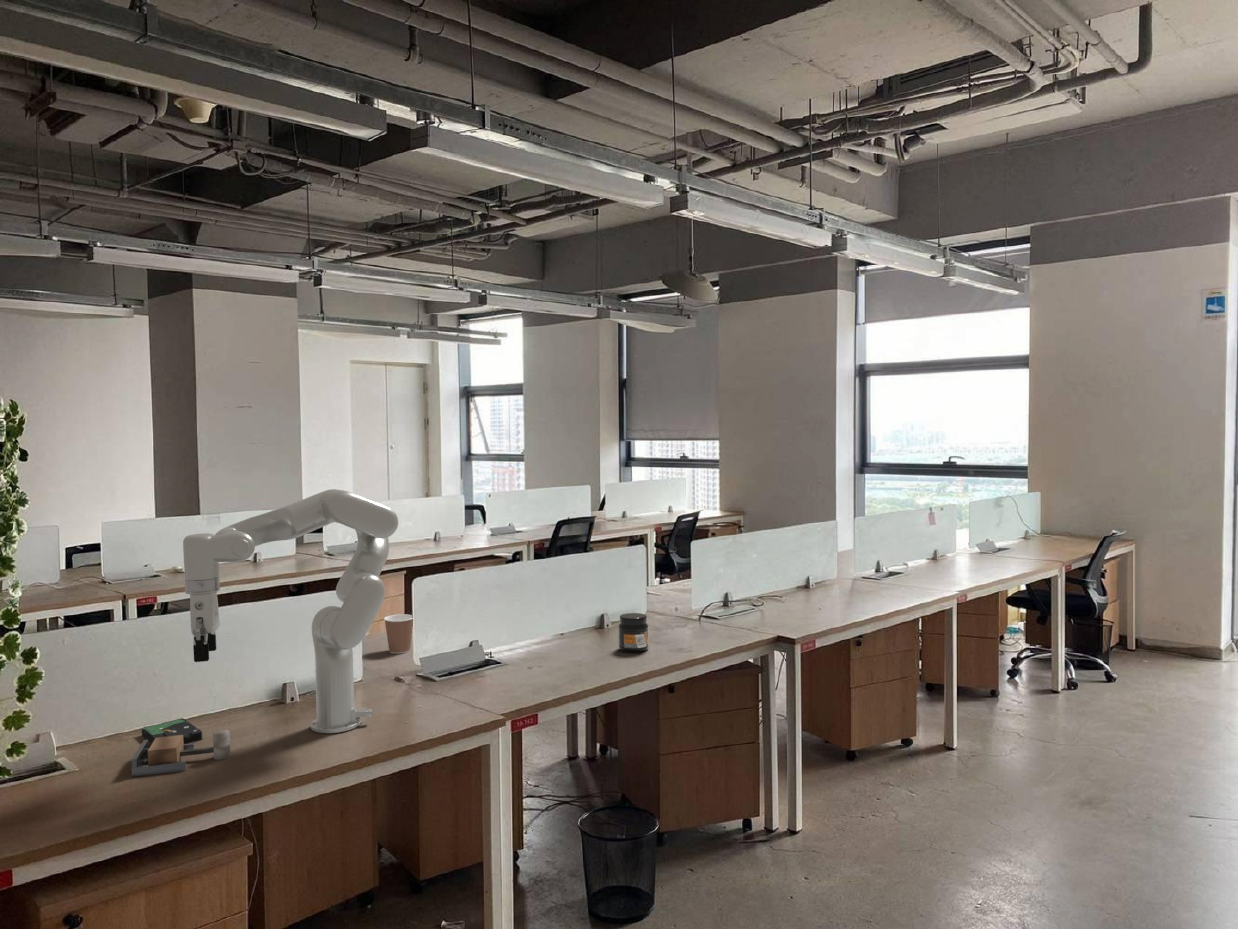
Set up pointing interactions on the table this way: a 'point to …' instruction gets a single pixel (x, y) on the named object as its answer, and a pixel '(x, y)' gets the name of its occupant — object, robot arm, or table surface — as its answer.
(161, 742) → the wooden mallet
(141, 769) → the grey u-shaped frame
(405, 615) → the coffee cup
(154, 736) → the disk drive
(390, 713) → the table surface
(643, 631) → the supplement container
